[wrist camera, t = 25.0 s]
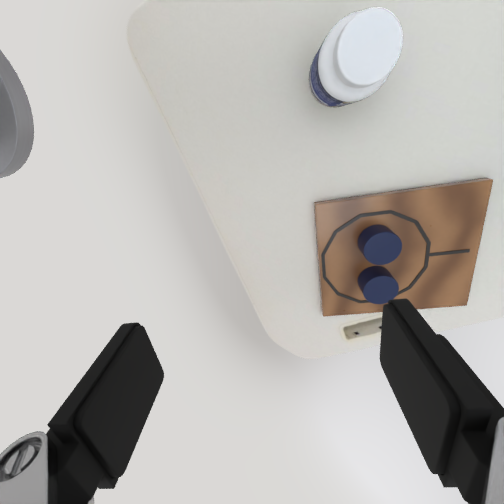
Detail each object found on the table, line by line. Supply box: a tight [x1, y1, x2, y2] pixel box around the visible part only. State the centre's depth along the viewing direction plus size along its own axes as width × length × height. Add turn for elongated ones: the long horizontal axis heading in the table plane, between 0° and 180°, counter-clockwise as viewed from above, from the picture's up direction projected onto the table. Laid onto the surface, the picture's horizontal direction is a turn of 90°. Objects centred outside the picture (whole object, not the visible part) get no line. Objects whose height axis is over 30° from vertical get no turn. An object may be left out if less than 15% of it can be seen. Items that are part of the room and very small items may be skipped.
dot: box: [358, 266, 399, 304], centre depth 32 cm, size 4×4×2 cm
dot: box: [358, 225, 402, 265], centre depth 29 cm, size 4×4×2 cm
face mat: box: [314, 178, 493, 316], centre depth 32 cm, size 18×16×1 cm
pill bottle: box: [309, 7, 403, 107], centre depth 21 cm, size 5×5×10 cm
